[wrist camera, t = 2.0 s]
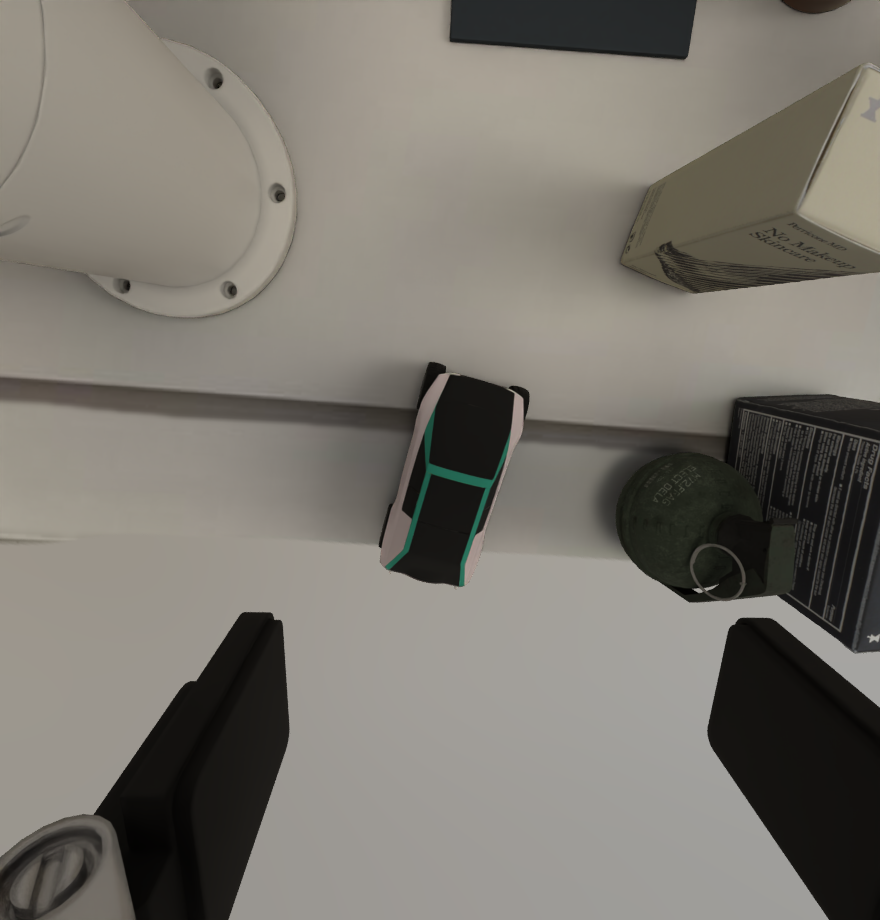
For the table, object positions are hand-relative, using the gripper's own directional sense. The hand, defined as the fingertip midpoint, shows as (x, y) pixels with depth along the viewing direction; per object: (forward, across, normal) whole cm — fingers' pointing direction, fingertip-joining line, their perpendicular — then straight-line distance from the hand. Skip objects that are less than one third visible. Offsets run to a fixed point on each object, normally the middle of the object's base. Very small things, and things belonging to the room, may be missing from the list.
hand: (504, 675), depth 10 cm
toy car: (+20, 0, +1) cm, 20 cm away
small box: (+20, -20, +2) cm, 29 cm away
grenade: (+20, -13, +4) cm, 24 cm away
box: (+20, -12, -12) cm, 27 cm away
